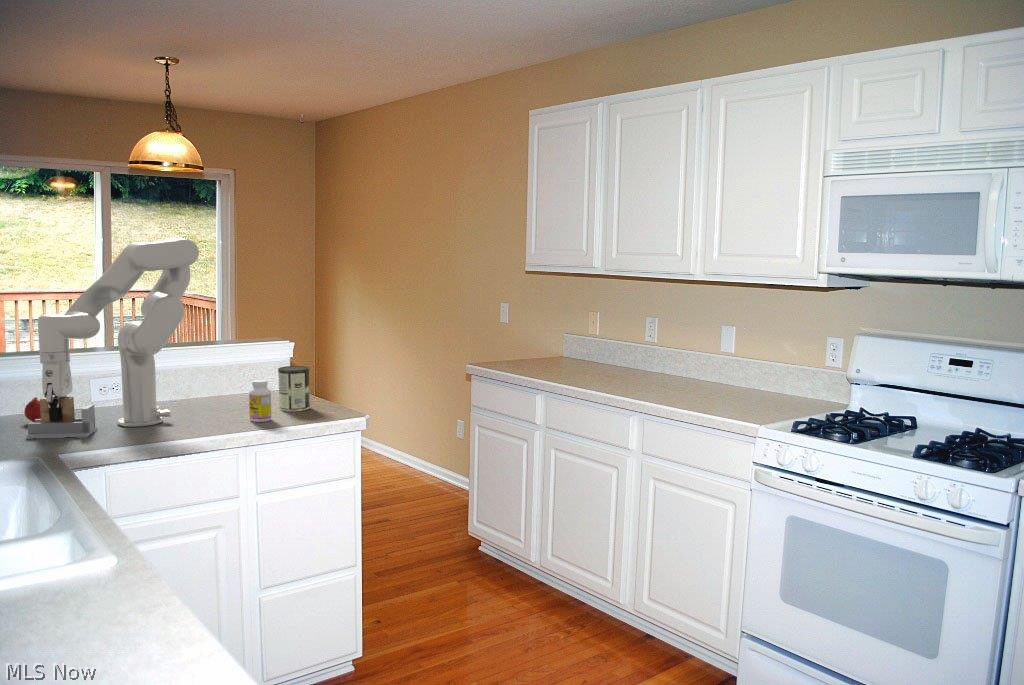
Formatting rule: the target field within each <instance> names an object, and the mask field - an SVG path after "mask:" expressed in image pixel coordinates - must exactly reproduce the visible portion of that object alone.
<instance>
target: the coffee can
mask: <svg viewBox="0 0 1024 685" xmlns="http://www.w3.org/2000/svg"><path fill="white" fill-rule="evenodd" d="M277 372H278V404H279V405H278V406H279V408H278V410H279V411H280V412H281V411H282V412H292V413H293V412H294V413H295V412H304V411H307V410H309V409H310V408H311V406H310V404H311V403H310V367H309V366H306V365H288V366H287V365H286V366H282V367H279V368H277Z"/></svg>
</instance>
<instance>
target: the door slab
mask: <svg viewBox="0 0 1024 685" xmlns="http://www.w3.org/2000/svg"><path fill="white" fill-rule="evenodd" d="M54 400H56V402H57V399H54ZM39 401H40V411H41V423H52V422H75V418H76V417H75V416H76V415H75V398H74V396H67V397H61V398H60V407H62V421H50V418H49V407H48V402H46V397H44V396H43V397H42V398H39Z"/></svg>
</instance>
